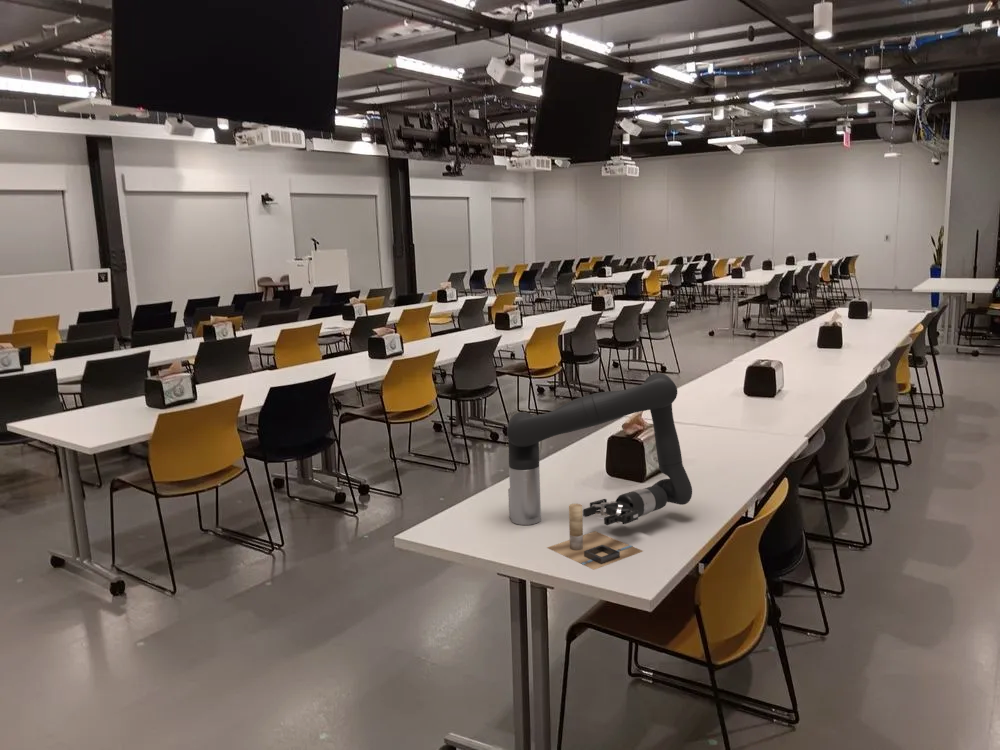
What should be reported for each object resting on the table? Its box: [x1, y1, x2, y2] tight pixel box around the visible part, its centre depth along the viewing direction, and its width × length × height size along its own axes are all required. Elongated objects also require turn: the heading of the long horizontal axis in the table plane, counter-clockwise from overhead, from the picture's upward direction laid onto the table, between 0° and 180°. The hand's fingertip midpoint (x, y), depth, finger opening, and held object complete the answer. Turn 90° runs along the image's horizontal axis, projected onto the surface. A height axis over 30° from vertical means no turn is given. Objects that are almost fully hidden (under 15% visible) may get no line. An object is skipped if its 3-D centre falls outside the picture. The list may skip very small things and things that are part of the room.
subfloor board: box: [546, 530, 644, 571], centre depth 213 cm, size 19×18×2 cm
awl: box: [568, 503, 584, 550], centre depth 214 cm, size 4×4×12 cm
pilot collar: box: [584, 545, 620, 564], centre depth 208 cm, size 7×7×2 cm
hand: (594, 517), depth 217 cm, fingers open, 8 cm apart
